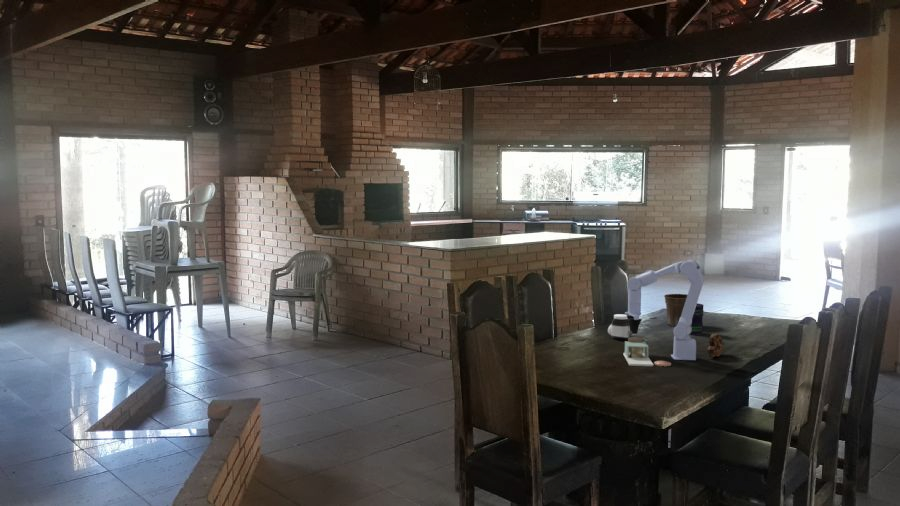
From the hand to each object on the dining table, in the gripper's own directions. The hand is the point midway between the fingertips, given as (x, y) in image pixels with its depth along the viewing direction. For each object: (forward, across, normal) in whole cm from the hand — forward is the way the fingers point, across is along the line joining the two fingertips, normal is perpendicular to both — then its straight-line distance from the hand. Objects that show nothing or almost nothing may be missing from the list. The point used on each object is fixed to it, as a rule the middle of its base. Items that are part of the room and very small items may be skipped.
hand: (633, 332), depth 336 cm
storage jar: (+10, -46, +37) cm, 60 cm away
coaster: (+9, +21, +10) cm, 25 cm away
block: (+10, +10, 0) cm, 13 cm away
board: (+9, +14, 0) cm, 17 cm away
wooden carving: (+10, +3, +36) cm, 38 cm away
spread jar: (+10, -32, -3) cm, 33 cm away
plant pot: (+10, -66, +34) cm, 75 cm away
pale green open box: (+8, +9, 0) cm, 13 cm away
